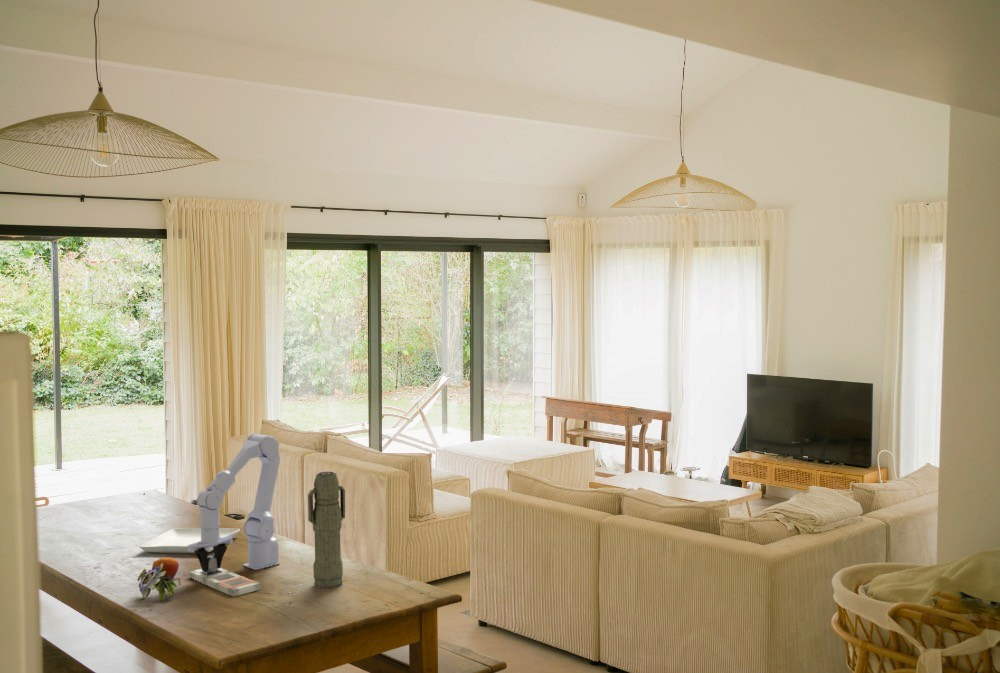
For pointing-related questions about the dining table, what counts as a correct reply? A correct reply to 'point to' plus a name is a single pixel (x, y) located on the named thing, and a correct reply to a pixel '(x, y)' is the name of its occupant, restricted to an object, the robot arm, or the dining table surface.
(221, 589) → the hole rail
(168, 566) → the fruit
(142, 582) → the passion flower
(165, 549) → the square plate
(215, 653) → the dining table surface
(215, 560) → the metal peg
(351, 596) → the dining table surface
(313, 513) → the thermos
